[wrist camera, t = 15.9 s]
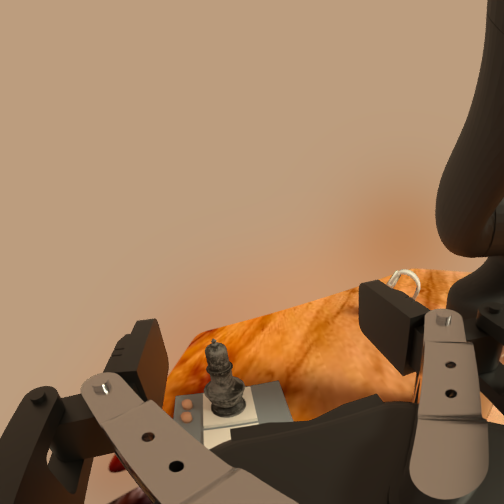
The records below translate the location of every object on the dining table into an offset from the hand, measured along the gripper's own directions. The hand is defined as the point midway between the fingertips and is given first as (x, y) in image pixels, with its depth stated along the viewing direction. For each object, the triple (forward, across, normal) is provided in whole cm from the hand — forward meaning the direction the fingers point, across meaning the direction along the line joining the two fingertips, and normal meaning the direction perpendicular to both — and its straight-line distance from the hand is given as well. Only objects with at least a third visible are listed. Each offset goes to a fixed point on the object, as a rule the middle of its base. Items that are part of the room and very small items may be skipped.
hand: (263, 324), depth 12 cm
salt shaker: (+25, +4, +26) cm, 37 cm away
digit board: (+21, +4, +28) cm, 35 cm away
